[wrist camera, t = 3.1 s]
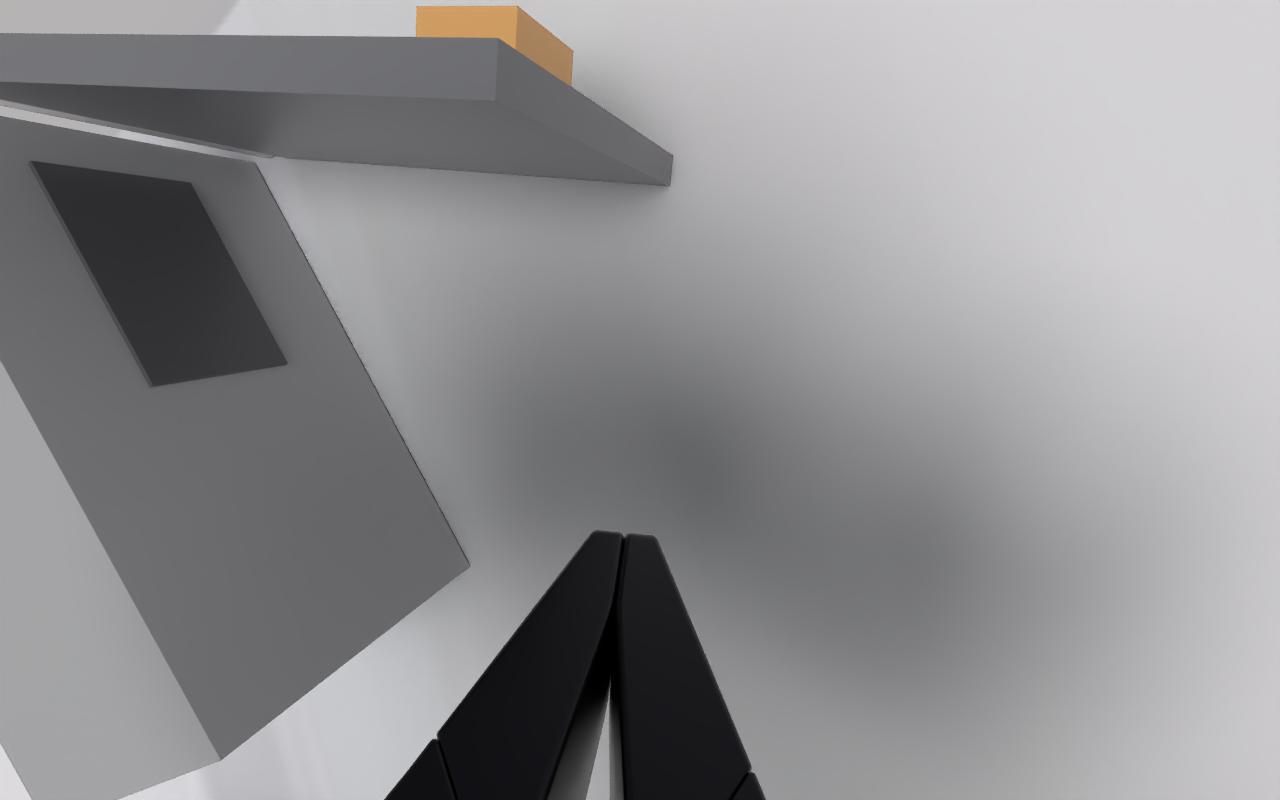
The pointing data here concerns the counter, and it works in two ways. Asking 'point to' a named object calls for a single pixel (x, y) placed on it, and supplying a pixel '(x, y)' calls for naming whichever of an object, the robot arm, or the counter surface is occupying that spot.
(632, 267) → the counter surface
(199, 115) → the side door
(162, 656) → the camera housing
